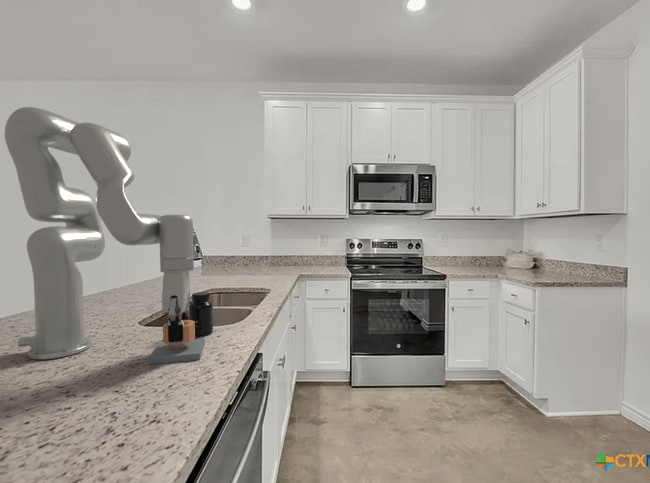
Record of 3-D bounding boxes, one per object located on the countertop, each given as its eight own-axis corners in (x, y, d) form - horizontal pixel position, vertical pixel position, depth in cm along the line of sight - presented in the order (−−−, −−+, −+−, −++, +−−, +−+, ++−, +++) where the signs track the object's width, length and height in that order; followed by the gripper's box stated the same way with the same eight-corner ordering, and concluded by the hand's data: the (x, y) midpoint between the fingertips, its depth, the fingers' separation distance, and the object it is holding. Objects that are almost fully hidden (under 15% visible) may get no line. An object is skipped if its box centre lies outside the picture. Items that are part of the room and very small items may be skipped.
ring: (160, 345, 76) (160, 329, 76) (167, 336, 83) (166, 321, 82) (192, 343, 78) (192, 326, 77) (196, 334, 84) (195, 318, 84)
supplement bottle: (187, 338, 91) (186, 296, 91) (190, 331, 98) (189, 291, 97) (212, 336, 93) (211, 294, 93) (214, 329, 100) (213, 290, 99)
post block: (148, 364, 73) (147, 327, 73) (160, 347, 84) (159, 315, 84) (199, 359, 76) (199, 323, 76) (204, 343, 87) (204, 312, 87)
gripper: (168, 262, 87) (169, 327, 87) (150, 269, 70) (153, 350, 71) (198, 261, 89) (199, 325, 89) (188, 268, 72) (189, 347, 73)
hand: (178, 335), depth 80 cm, fingers closed on ring, 7 cm apart
